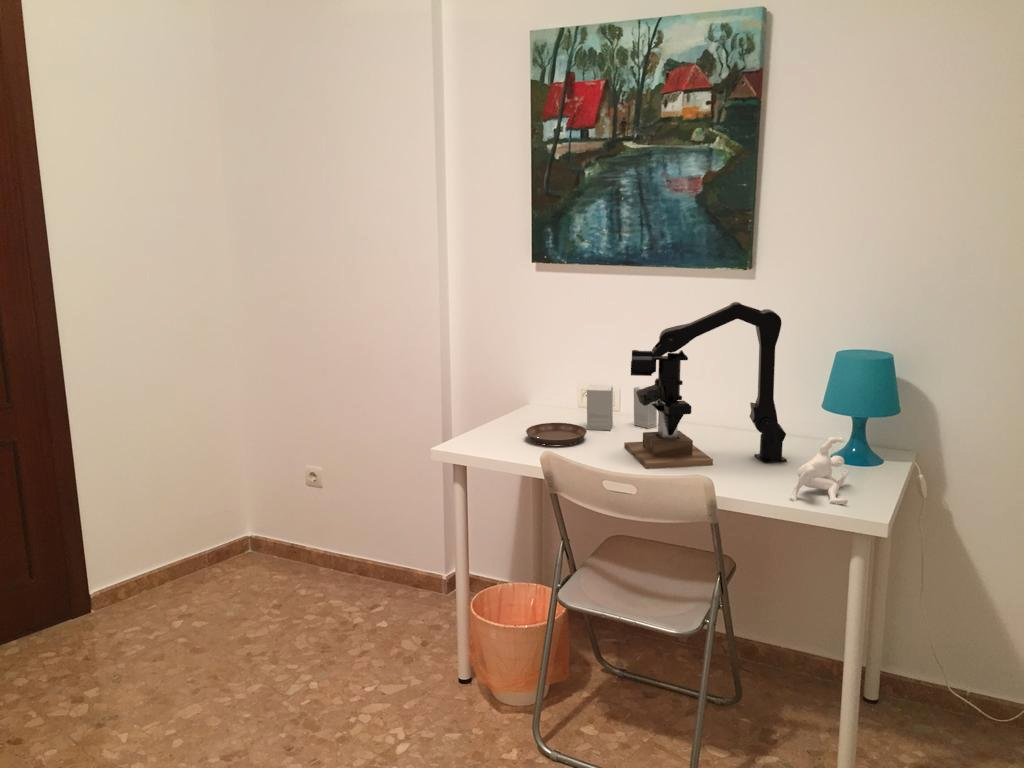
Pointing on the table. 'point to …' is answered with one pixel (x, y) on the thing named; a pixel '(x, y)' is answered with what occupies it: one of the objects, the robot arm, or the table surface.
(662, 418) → the steel peg
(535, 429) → the plant saucer
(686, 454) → the socket block
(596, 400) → the supplement box
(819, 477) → the person figurine
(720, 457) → the table surface
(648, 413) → the skincare box
